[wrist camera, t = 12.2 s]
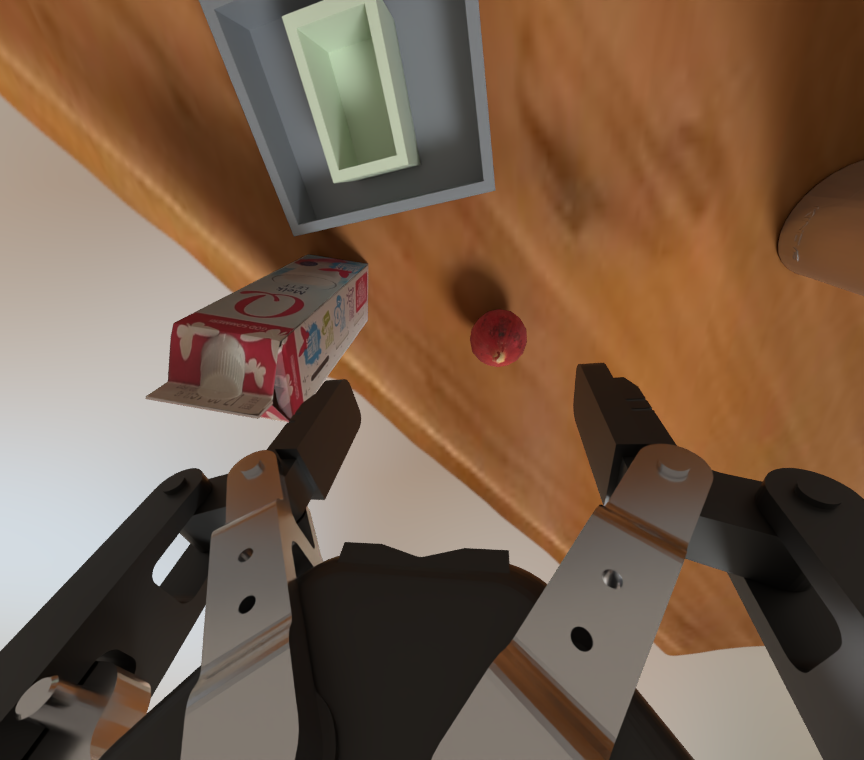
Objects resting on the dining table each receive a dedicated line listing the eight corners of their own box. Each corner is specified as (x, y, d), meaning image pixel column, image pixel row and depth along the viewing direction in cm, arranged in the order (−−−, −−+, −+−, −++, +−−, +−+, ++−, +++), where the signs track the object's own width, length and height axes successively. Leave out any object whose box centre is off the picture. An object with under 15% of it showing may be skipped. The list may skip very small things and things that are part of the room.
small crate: (394, 20, 24) (372, -19, 19) (420, 164, 28) (408, 164, 23) (320, 46, 25) (281, 16, 20) (357, 180, 30) (333, 183, 25)
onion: (476, 295, 35) (476, 325, 29) (528, 303, 35) (540, 335, 28) (466, 342, 38) (464, 379, 32) (514, 350, 38) (522, 388, 32)
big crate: (469, -67, 22) (467, -123, 18) (492, 187, 29) (495, 190, 25) (243, 24, 25) (197, -4, 21) (316, 227, 33) (294, 236, 29)
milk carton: (308, 254, 35) (122, 349, 17) (368, 263, 35) (245, 370, 16) (313, 311, 39) (165, 440, 20) (367, 320, 38) (267, 458, 20)
